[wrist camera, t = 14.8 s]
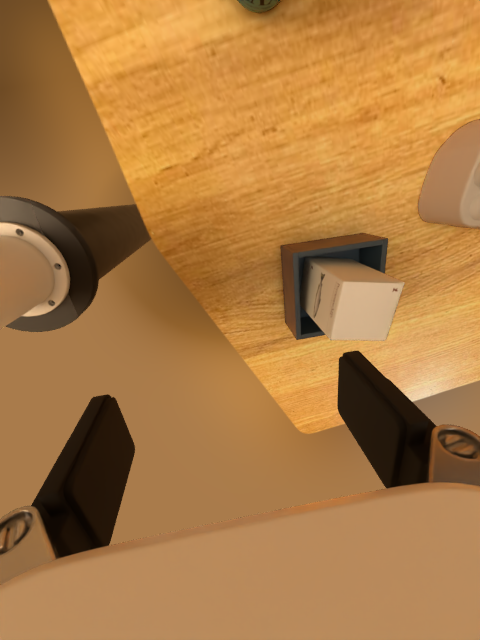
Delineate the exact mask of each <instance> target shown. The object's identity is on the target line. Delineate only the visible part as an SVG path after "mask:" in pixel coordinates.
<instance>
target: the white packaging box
mask: <svg viewBox="0 0 480 640" xmlns="http://www.w3.org/2000/svg"><path fill="white" fill-rule="evenodd" d="M404 284H405V283H404V282H403V281H400V280H398V279H396V278H393V277H391V276H389V275H387V274H384V273H382V272H380V271H377V270H375V269H373V268H370V267H368V266H366V265H364V264H361V263H359V262H357V261H354V260H352V259H345V258H325V257H305V262H304V270H303V277H302V283H301V288H300V293H299V294H300V305H301V307H302V308H303V309H304V310H305V311H306V312H307V314H308V315H309V316H310V317H311V318H312V319H313V320H314V322H315V323H316V324H317V325H318V326H319V327H320V329H321V330H322V331H323V332H324V333H325V334H326V336H327V337H328V338H329V339H330V340H364V341H385V340H386V339H387V336H388V333H389V329H390V326H391V323H392V320H393V317H394V314H395V312H396V308H397V305H398V302H399V299H400V295H401V293H402V289H403V287H404Z"/></svg>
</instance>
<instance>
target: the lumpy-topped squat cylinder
mask: <svg viewBox="0 0 480 640" xmlns="http://www.w3.org/2000/svg"><path fill="white" fill-rule="evenodd" d="M418 211H419V215H420V217H421V219H422V220H423V221H425V222H429V223H438V224H447V225H451V226H456V227H465V228H474V229H480V119H478V120H475V121H472V122H469V123H467V124H466V125H464V126H462V127H461V128H459V129H458V130H457V131H455V132H454V133H453V134H452V135H451V136H450V137H449V138H448V139H447V141H446V142H445V143H444V144H443V145H442V146H441V148H440V149H439V150H438V151H437V153H436V154H435V156H434V158H433V160H432V162H431V165H430V167H429V170H428V172H427V175H426V178H425V180H424V183H423V187H422V191H421V194H420V198H419V203H418Z"/></svg>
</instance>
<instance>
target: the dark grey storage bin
mask: <svg viewBox="0 0 480 640" xmlns="http://www.w3.org/2000/svg"><path fill="white" fill-rule="evenodd" d="M387 245H388V238H383V237H379V236H374V235H370V234H365V233H360V234H353V235H347V236H340V237H334V238H327V239H320V240H314V241H307V242H301V243H294V244H288V245H281V260H282V276H283V291H284V307H285V323H286V324H287V326H288V327H289V329H290V330H291V332H292V333H293V335H294V336H295V338H296V340H298V339H304V338H310V337H316V336H322V335H326V334H325V333H324V332H323V331H322V330H321V329H320V327H319V326H318V325H317V324H316V323H315V322H314V320H313V319H312V318H311V317H310V316H309V315H308V314H307V312H306V311H305V310H304V309H303V308H302V307H301V305H300V294H299V293H300V288H301V283H302V277H303V270H304V262H305V257H325V258H345V259H352V260H354V261H357V262H359V263H361V264H364V265H366V266H368V267H370V268H373V269H375V270H377V271H380V272H382V273H384V274H385V265H386V255H387Z"/></svg>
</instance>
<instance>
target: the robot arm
mask: <svg viewBox="0 0 480 640" xmlns="http://www.w3.org/2000/svg"><path fill="white" fill-rule="evenodd" d="M22 231H23V232H24V233H23V232H22ZM59 264H60V265H61V266H60V265H59ZM69 288H70V273H69V269H68V266H67V263H66V261H65V259H64V257H63V255H62V254H61V252H60V251H59V250H58V249H57V247H56V246H55V245H54V244H53V243H52V242H51V241H50V240H49V239H48V238H46V237H45V236H44V235H42V234H41V233H39V232H38V231H36V230H34V229H32V228H30V227H27V226H24V225H21V224H18V223H12V222H0V329H2V328H3V327H5V326H6V325H8V324H9V323H11V322H13V321H14V320H16V319H17V318H19V317H20V316H26V317H29V316H38V315H42V314H46V313H48V312H50V311H52V310H53V309H55V308H56V307H58V306H59V305H60V304H61V303H62V302H63V301H64V299H65V298H66V296H67V294H68V291H69ZM338 411H339V413H340V415H341V417H342V419H343V420H344V422H345V423H346V425H347V427H348V428H349V430H350V431H351V433H352V435H353V436H354V438H355V439H356V441H357V443H358V444H359V446H360V447H361V449H362V451H363V452H364V454H365V455H366V457H367V459H368V460H369V462H370V463H371V465H372V467H373V468H374V469H375V471H376V473H377V475H378V476H379V478H380V479H381V481H382V483H383V484H384V486H385V487H386V488H387V489H381V490H376V491H370V492H365V493H360V494H354V495H349V496H344V497H339V498H334V499H329V500H324V501H319V502H315V503H309V504H304V505H299V506H294V507H290V508H284V509H279V510H275V511H270V512H265V513H261V514H255V515H250V516H246V517H240V518H236V519H231V520H226V521H221V522H217V523H212V524H207V525H202V526H197V527H192V528H188V529H183V530H179V531H174V532H169V533H164V534H159V535H155V536H150V537H145V538H140V539H136V540H131V541H127V542H122V543H118V544H114V545H110V546H109V543H110V541H111V537H112V534H113V530H114V526H115V523H116V518H117V515H118V511H119V508H120V504H121V501H122V497H123V493H124V490H125V486H126V483H127V479H128V475H129V471H130V468H131V464H132V461H133V457H134V453H135V446H134V442H133V440H132V438H131V435H130V433H129V430H128V428H127V425H126V423H125V420H124V418H123V415H122V413H121V411H120V408H119V406H118V403H117V401H116V399H115V398H114V397H113V398H111V396H110V395H103V396H96V397H93V398H92V399H91V401H90V402H89V404H88V406H87V408H86V410H85V411H84V413H83V415H82V417H81V419H80V420H79V422H78V424H77V426H76V427H75V429H74V431H73V433H72V434H71V437H70V438H69V440H68V441H67V443H66V445H65V447H64V449H63V450H62V452H61V454H60V456H59V457H58V459H57V461H56V463H55V464H54V466H53V468H52V470H51V471H50V473H49V475H48V477H47V479H46V480H45V482H44V484H43V486H42V488H41V489H40V491H39V493H38V495H37V496H36V498H35V500H34V502H33V503H32V505H31V506H24V507H20V508H17V509H15V510H13V511H11V512H9V513H8V514H6V515H4V516H3V517H2V518H1V519H0V640H480V436H478V435H477V434H476V433H474V432H472V431H470V430H468V429H465V428H463V427H460V426H455V425H440V426H436V425H435V424H434V423H433V422H432V421H431V420H430V419H429V418H428V417H427V416H426V415H425V414H424V413H422V411H421V410H419V409H418V407H417V406H416V405H415V404H414V403H412V402H411V401H410V400H409V399H408V398H407V397H406V396H405V395H404V394H403V393H402V392H401V391H400V390H399V389H398V388H397V387H396V386H395V385H394V384H393V383H392V382H391V381H390V380H389V379H387V378H385V377H384V376H383V375H382V374H381V373H380V372H379V371H378V370H377V369H376V368H375V367H374V366H373V365H372V364H371V363H370V362H369V361H368V360H367V359H366V358H365V357H364V356H363V355H362V354H361V353H360V352H359V351H352V352H346V353H344V354H343V357H340V358H339V378H338Z"/></svg>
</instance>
